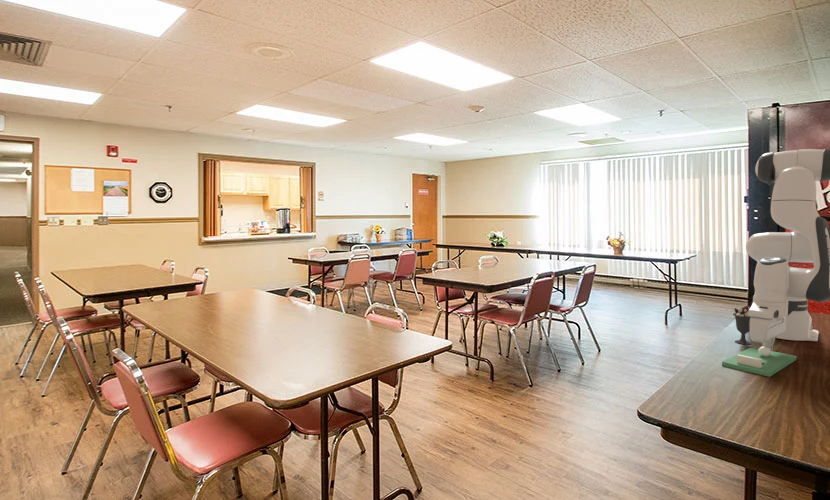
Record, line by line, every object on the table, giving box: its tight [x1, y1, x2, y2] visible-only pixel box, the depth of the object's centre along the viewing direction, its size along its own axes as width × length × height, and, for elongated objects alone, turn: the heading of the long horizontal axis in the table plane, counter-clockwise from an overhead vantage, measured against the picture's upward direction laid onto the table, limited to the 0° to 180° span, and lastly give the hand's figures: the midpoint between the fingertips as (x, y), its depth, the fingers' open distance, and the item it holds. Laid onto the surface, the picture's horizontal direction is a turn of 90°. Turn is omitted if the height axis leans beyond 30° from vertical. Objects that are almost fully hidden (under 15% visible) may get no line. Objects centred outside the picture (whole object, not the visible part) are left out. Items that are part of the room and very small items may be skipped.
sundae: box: [732, 301, 753, 346], centre depth 159 cm, size 7×7×15 cm
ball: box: [758, 345, 771, 357], centre depth 141 cm, size 3×3×3 cm
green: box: [721, 346, 797, 378], centre depth 139 cm, size 24×12×4 cm, turn 125°
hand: (767, 350), depth 143 cm, fingers closed
